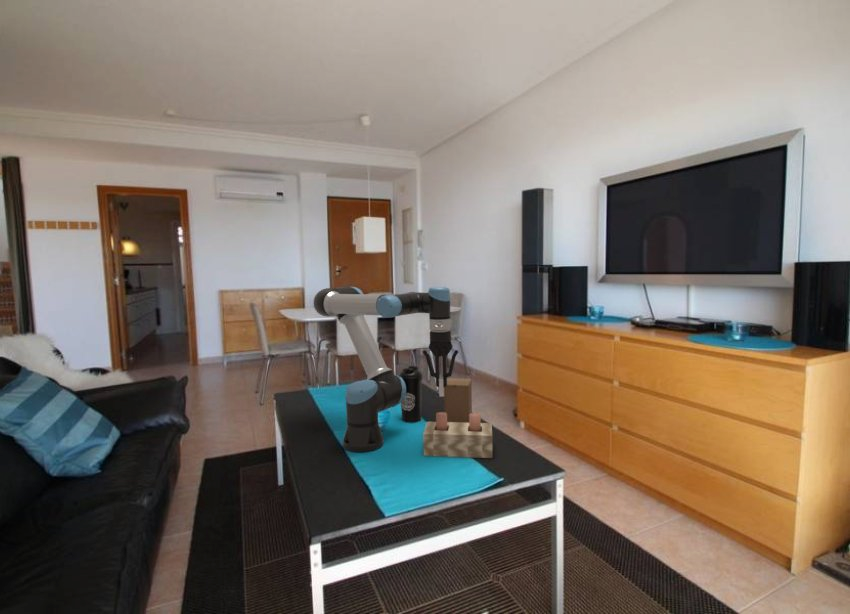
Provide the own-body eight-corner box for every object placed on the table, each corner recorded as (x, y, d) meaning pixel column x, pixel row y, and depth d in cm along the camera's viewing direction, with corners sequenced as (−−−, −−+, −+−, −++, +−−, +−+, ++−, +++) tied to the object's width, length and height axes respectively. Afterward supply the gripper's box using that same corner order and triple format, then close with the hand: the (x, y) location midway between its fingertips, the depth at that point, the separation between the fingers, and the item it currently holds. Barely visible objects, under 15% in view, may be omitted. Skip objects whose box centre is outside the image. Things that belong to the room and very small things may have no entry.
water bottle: (396, 421, 188) (394, 369, 186) (405, 414, 198) (404, 364, 196) (417, 424, 184) (416, 371, 182) (426, 416, 194) (425, 365, 192)
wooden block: (469, 434, 173) (469, 385, 171) (444, 433, 175) (443, 384, 173) (472, 425, 182) (471, 378, 181) (448, 424, 184) (447, 377, 183)
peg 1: (435, 437, 157) (435, 415, 156) (436, 433, 161) (436, 412, 160) (446, 437, 157) (446, 416, 156) (447, 433, 161) (447, 412, 160)
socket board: (423, 455, 154) (423, 433, 154) (427, 442, 166) (427, 421, 165) (492, 458, 151) (492, 435, 150) (491, 444, 163) (491, 423, 162)
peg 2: (469, 438, 156) (469, 416, 155) (469, 434, 160) (469, 412, 159) (480, 438, 155) (480, 416, 154) (480, 434, 159) (480, 413, 158)
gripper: (420, 332, 152) (422, 398, 155) (458, 331, 151) (459, 398, 153) (423, 329, 160) (425, 392, 162) (459, 328, 158) (460, 392, 160)
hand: (441, 395), depth 157 cm, fingers closed
